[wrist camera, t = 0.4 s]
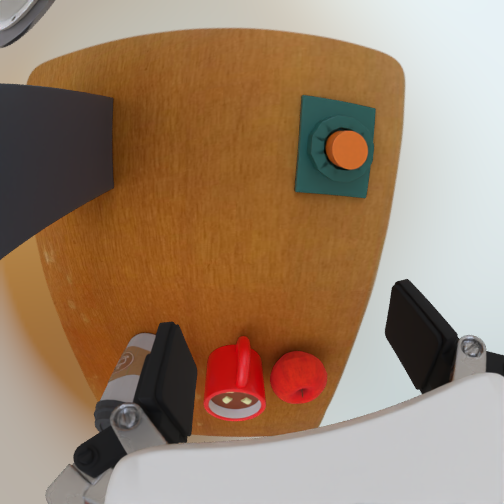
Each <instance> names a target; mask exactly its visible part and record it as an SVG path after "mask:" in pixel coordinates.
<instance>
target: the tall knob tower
mask: <svg viewBox="0 0 504 504" xmlns="http://www.w3.org/2000/svg"><path fill="white" fill-rule="evenodd" d="M112 117H113V98H110V97H106V96H101V95H95V94H90V93H84V92H79V91H72V90H66V89H59V88H51V87H42V86H32V85H20V84H19V85H18V84H0V260H1V259H2V258H3V257H4V256H6V255H7V254H9V253H10V252H11V251H13V250H14V249H15V248H17V247H18V246H19V245H21V244H22V243H24V242H25V241H27V240H28V239H29V238H31V237H32V236H34V235H35V234H37V233H38V232H40V231H41V230H43V229H44V228H46V227H47V226H49V225H50V224H52V223H54V222H55V221H57V220H58V219H60V218H62V217H63V216H65V215H67V214H68V213H70V212H72V211H73V210H75V209H77V208H78V207H80V206H82V205H84V204H85V203H87V202H89V201H91V200H92V199H94V198H96V197H98V196H100V195H102V194H103V193H105V192H107V191H109V190H111V189H113V188H114V182H113V159H112Z"/></svg>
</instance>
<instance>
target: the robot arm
mask: <svg viewBox="0 0 504 504" xmlns="http://www.w3.org/2000/svg"><path fill="white" fill-rule="evenodd" d="M37 1H38V0H0V31H4V30H7V29H9V28H10V27H12V26H13V25H15V24H16V23H17V22H19V21H20V20H21V19H22V18H23V17H24V16H25V15H26V14H27V13H28V12H29V11H30V10H31V8H32V7H33V6H34V5H35V3H36V2H37ZM385 336H386V338H387V340H388V341H389V343H390V345H391V346H392V348H393V350H394V351H395V353H396V355H397V356H398V358H399V360H400V362H401V363H402V365H403V367H404V368H405V370H406V372H407V374H408V375H409V377H410V379H411V381H412V383H413V384H414V386H415V388H416V389H417V390H418V389H419V390H420V391H421V393H422V395H419V396H417V397H414V398H412V399H410V400H407V401H404V402H402V403H399V404H397V405H394V406H391V407H388V408H385V409H383V410H380V411H377V412H374V413H371V414H367V415H364V416H361V417H357V418H354V419H350V420H347V421H343V422H339V423H336V424H331V425H327V426H323V427H319V428H314V429H310V430H305V431H299V432H294V433H288V434H282V435H276V436H269V437H262V438H254V439H244V440H233V441H221V442H204V443H186V442H187V436H190V435H191V432H192V421H193V410H194V399H195V389H196V380H197V367H196V364H195V362H194V360H193V358H192V355H191V353H190V351H189V348H188V346H187V344H186V341H185V339H184V336H183V334H182V331H181V329H180V327H179V325H178V324H177V325H175V323H174V322H164V323H160V324H159V327H158V330H157V333H156V336H155V340H154V343H153V346H152V349H151V353H150V354H147V355H146V357H145V360H144V364H143V367H142V370H141V374H140V377H139V381H138V384H137V388H136V391H135V395H134V398H133V402H127V403H123V404H121V405H119V406H117V407H116V408H115V409H114V410H113V412H112V414H111V416H110V423H111V425H110V426H109V427H107V428H106V429H104V430H103V431H101V432H100V433H98V434H97V435H95V436H94V437H92V438H91V439H89V440H87V441H86V442H84V443H83V444H81V445H80V446H79V447H77V449H76V451H75V453H74V463H73V465H70V464H69V465H68V466H67V467H66V468H65V469H64V470H63V471H62V472H61V474H60V475H59V476H58V477H57V478H56V479H55V480H54V482H53V483H52V484H51V485H50V486H49V487H48V489H47V490H46V495H45V496H46V500H47V502H48V504H504V355H500V354H496V353H492V352H488V351H486V346H485V344H484V342H483V341H482V340H481V339H480V338H478V337H476V336H473V335H466V336H463V337H461V338H460V339H459V338H458V337H457V333H456V332H455V331H454V330H453V328H452V327H451V326H450V325H449V324H448V322H447V321H446V320H445V319H444V318H443V317H442V316H441V314H440V313H439V312H438V311H437V310H436V309H435V308H434V307H433V305H432V304H431V303H430V302H429V301H428V300H427V299H426V298H425V296H424V295H423V294H422V293H421V292H420V291H419V290H418V289H417V288H416V287H415V286H414V285H413V284H412V283H411V282H410V281H409V280H408V279H405V280H401V281H397V282H396V283H395V285H394V286H393V287H392V290H391V298H390V304H389V310H388V316H387V322H386V328H385ZM178 443H180V444H178Z"/></svg>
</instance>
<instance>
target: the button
mask: <svg viewBox="0 0 504 504" xmlns="http://www.w3.org/2000/svg"><path fill="white" fill-rule="evenodd" d="M326 154H327V157H328V158H329V160H330V161H331V162H332V163H333V164H335V165H337V166H339V167H342V168H345V169H349V170H352V169H357V168H359V167H360V166H362V165H363V163H364V162H365V161H366V158H367V155H368V147H367V143H366V141H365V140H364V138H363V137H362V136H361V135H360V134H358V133H356V132H354V131H337V132H335V133H333V134H332V135H330V137H329V138H328V140H327V142H326Z"/></svg>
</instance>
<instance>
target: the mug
mask: <svg viewBox="0 0 504 504" xmlns="http://www.w3.org/2000/svg"><path fill="white" fill-rule="evenodd" d="M265 407H266V399H265V389H264V379H263V369H262V361H261V358H260V356H259V354H258V353H257V352H256V351H254V350H253V349H251V348H250V341H249V339H248V338H247V337H246V336H241V337H239V338H238V340H237V343H236V345H226V346H223V347H220V348H218V349H216V350H214V351H213V352H212V353H211V354H210V356H209V357H208V362H207V372H206V382H205V393H204V408H205V410H206V411H207V412H208V413H209V414H211V415H212V416H214V417H216V418H219V419H222V420H227V421H244V420H249V419H252V418H254V417H257V416H258V415H260V414H261V413H262V412H263V411H264V409H265Z"/></svg>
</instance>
